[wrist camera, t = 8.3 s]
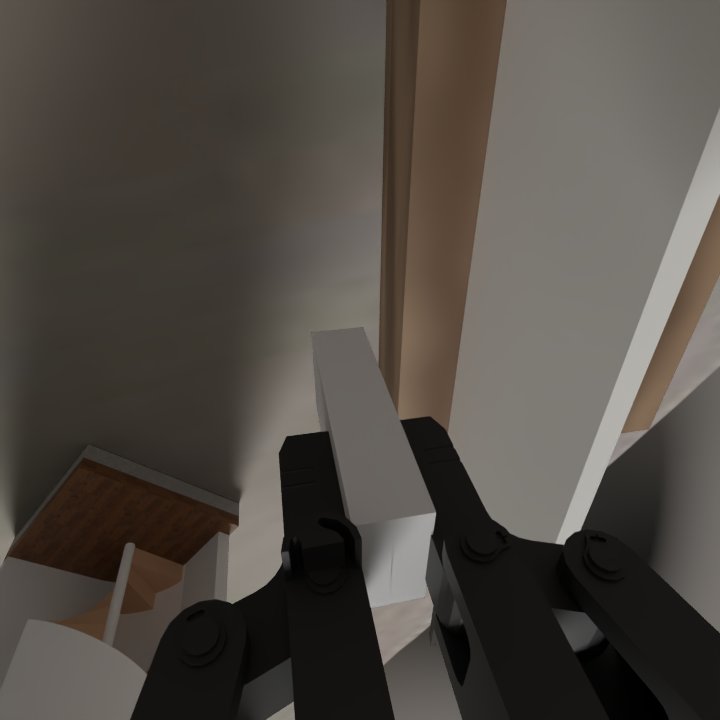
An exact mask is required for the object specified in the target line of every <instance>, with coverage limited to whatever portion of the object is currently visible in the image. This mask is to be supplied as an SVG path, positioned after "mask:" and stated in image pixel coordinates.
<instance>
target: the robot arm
mask: <svg viewBox="0 0 720 720" xmlns="http://www.w3.org/2000/svg"><path fill="white" fill-rule="evenodd" d="M311 335H312V349H313V363H314V377H315V390H316V404H317V411H318V417H319V422H320V428H321V432H316V433H309V434H301V435H294V436H287V437H286V439H285V441H284V443H283V445H282V448H281V450H280V452H279V463H280V478H281V493H282V507H283V522H284V538H283V543H282V550H281V555H282V561H283V562H282V565H281V567H280V569H279V570H278V572H277V573H276V575H275V576H274V577H273V578H272V579H271V580H270V581H269V582H268V584H267V585H265V586H264V587H262V588H261V589H259V590H258V591H256V592H255V593H253V594H251V595H249V596H247V597H245V598H243V599H241V600H239V601H237V602H235V603H234V604H231V603H229V602H225V601H221V600H218V599H212V600H206V601H199V602H197V603H195V604H193V605H192V606H190V607H188V608H186V609H184V610H183V611H182V612H181V613H180V614H178V615H177V616H176V617H175V618H174V619H173V620H172V621H171V622H170V623H169V625H168V627H167V629H166V630H165V632H164V634H163V636H162V637H161V639H160V642H159V645H158V647H157V650H156V652H155V655H154V658H153V660H152V663H151V666H150V668H149V671H148V674H147V676H146V679H145V681H144V684H143V687H142V689H141V692H140V695H139V697H138V700H137V703H136V705H135V708H134V710H133V713H132V716H131V718H130V720H266V719H267V718H269V717H270V716H272V715H273V714H275V713H276V712H278V711H280V710H281V709H283V708H284V707H286V706H287V705H289V704H290V703H292V702H293V701H294V710H295V720H395V719H394V714H393V709H392V705H391V700H390V695H389V691H388V686H387V681H386V677H385V672H384V667H383V663H382V658H381V653H380V649H379V644H378V640H377V635H376V630H375V626H374V621H373V616H372V612H371V608H373V607H378V606H383V605H388V604H393V603H398V602H403V601H409V600H414V599H419V598H424V597H425V592H426V584H427V587H428V590H429V593H430V596H431V599H432V602H433V605H434V607H433V613H432V620H431V626H430V632H429V636H430V645H431V646H433V645H436V641H437V639H438V642H439V646H440V649H441V652H442V655H443V659H444V662H445V665H446V668H447V671H448V675H449V678H450V681H451V684H452V688H453V691H454V694H455V697H456V700H457V703H458V707H459V710H460V713H461V717H462V719H463V720H720V633H719V632H718V631H717V630H716V629H715V628H714V627H713V626H711V624H709V623H708V622H707V621H706V620H705V619H704V618H703V617H702V616H701V615H700V614H699V613H698V612H697V611H696V610H695V609H694V608H693V607H692V606H691V605H689V604H688V603H687V602H686V601H685V600H684V599H683V598H682V597H681V596H680V595H679V594H678V593H677V592H676V591H675V590H674V589H673V588H672V587H670V585H669V584H668V583H667V582H665V581H664V580H663V579H662V578H661V577H660V576H659V575H658V574H657V573H656V572H655V571H654V570H653V569H652V568H651V567H650V566H649V565H648V564H647V563H646V562H645V561H643V560H642V559H641V558H640V557H639V556H638V555H637V554H636V553H635V552H634V551H633V550H632V549H631V548H630V547H628V546H627V545H626V544H624V543H623V542H622V541H620V540H619V539H618V538H616V537H614V536H611V535H609V534H607V533H604V532H602V531H595V530H582V531H578V532H574V533H573V534H572V535H571V536H570V537H568V538H567V539H566V541H565V544H564V545H562V544H555V543H547V542H540V541H532V540H528V539H523V538H519V537H517V536H515V535H513V534H510V533H509V532H508V530H507V529H506V528H505V527H503V526H502V525H500V524H499V523H497V522H496V521H494V520H492V518H491V517H490V515H489V514H488V512H487V511H486V509H485V507H484V505H483V503H482V501H481V499H480V497H479V495H478V493H477V491H476V489H475V487H474V485H473V483H472V481H471V479H470V477H469V475H468V473H467V471H466V469H465V467H464V465H463V463H462V462H461V461H460V457H459V455H458V453H457V451H456V449H455V448H454V447H453V443H452V441H451V439H450V437H449V435H448V433H447V431H446V429H445V428H444V427H442V426H441V425H440V424H439V423H438V422H437V421H435V420H434V419H433V418H432V417H431V416H427V417H419V418H412V419H404V420H400V419H399V417H398V414H397V412H396V409H395V407H394V404H393V402H392V399H391V397H390V394H389V391H388V389H387V386H386V384H385V381H384V379H383V376H382V374H381V371H380V369H379V366H378V364H377V361H376V359H375V356H374V353H373V351H372V348H371V346H370V343H369V341H368V338H367V336H366V333H365V331H364V328H363V327H360V328H350V329H340V330H330V331H320V332H311Z"/></svg>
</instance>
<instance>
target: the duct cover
mask: <svg viewBox="0 0 720 720" xmlns="http://www.w3.org/2000/svg"><path fill="white" fill-rule="evenodd" d="M719 195H720V0H507V3H506V11H505V18H504V25H503V33H502V40H501V47H500V55H499V62H498V69H497V77H496V84H495V91H494V99H493V106H492V113H491V121H490V128H489V135H488V143H487V150H486V157H485V165H484V172H483V179H482V187H481V194H480V201H479V209H478V216H477V223H476V231H475V238H474V245H473V253H472V260H471V267H470V274H469V282H468V289H467V296H466V304H465V311H464V318H463V326H462V333H461V340H460V348H459V355H458V362H457V370H456V377H455V384H454V392H453V399H452V406H451V414H450V421H449V428H448V435H449V437H450V439H451V441H452V443H453V447H454V448H455V449H456V451H457V453H458V455H459V457H460V461H461V462H462V463H463V465H464V467H465V469H466V471H467V473H468V475H469V477H470V479H471V481H472V483H473V485H474V487H475V489H476V491H477V493H478V495H479V497H480V499H481V501H482V503H483V505H484V507H485V509H486V511H487V512H488V514H489V515H490V517H491V518H492V520H494V521H496V522H497V523H499V524H500V525H502V526H503V527H505V528H506V529H507V530H508V532H509V533H510V534H513V535H515V536H517V537H519V538H523V539H528V540H532V541H540V542H547V543H555V544H562V545H564V544H565V541H566V539H567V538H568V537H570V536H571V535H572V534H573V533H574V532H578V531H580V530H581V527H582V525H583V523H584V520H585V518H586V515H587V513H588V510H589V508H590V506H591V503H592V501H593V498H594V496H595V494H596V491H597V489H598V486H599V484H600V482H601V479H602V477H603V474H604V472H605V469H606V467H607V465H608V462H609V460H610V457H611V455H612V453H613V450H614V448H615V445H616V443H617V441H618V438H619V436H620V433H621V431H622V429H623V426H624V424H625V421H626V419H627V416H628V414H629V412H630V409H631V407H632V404H633V402H634V400H635V397H636V395H637V392H638V390H639V388H640V385H641V383H642V380H643V378H644V375H645V373H646V371H647V368H648V366H649V363H650V361H651V359H652V356H653V354H654V351H655V349H656V347H657V344H658V342H659V339H660V337H661V334H662V332H663V330H664V327H665V325H666V322H667V320H668V318H669V315H670V313H671V310H672V308H673V306H674V303H675V301H676V298H677V296H678V293H679V291H680V289H681V286H682V284H683V281H684V279H685V277H686V274H687V272H688V269H689V267H690V265H691V262H692V260H693V257H694V255H695V253H696V250H697V248H698V245H699V243H700V240H701V238H702V236H703V233H704V231H705V228H706V226H707V224H708V221H709V219H710V216H711V214H712V212H713V209H714V207H715V204H716V202H717V199H718V197H719Z"/></svg>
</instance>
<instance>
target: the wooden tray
mask: <svg viewBox="0 0 720 720" xmlns="http://www.w3.org/2000/svg"><path fill="white" fill-rule="evenodd" d="M506 3H507V0H387V16H386V61H385V105H384V150H383V194H382V239H381V283H380V327H379V369H380V371H381V374H382V376H383V379H384V381H385V384H386V386H387V389H388V391H389V394H390V397H391V399H392V402H393V404H394V407H395V409H396V412H397V414H398V417H399V419H400V420H404V419H412V418H419V417H427V416H431V417H432V418H433V419H434V420H435V421H437V422H438V423H439V424H440V425H441V426H442V427H444V428H445V429H446V431H447V433H448V428H449V421H450V414H451V406H452V399H453V392H454V384H455V377H456V370H457V362H458V355H459V348H460V340H461V333H462V326H463V318H464V311H465V304H466V296H467V289H468V282H469V274H470V267H471V260H472V253H473V245H474V238H475V231H476V223H477V216H478V209H479V201H480V194H481V187H482V179H483V172H484V165H485V157H486V150H487V143H488V135H489V128H490V121H491V113H492V106H493V99H494V91H495V84H496V77H497V69H498V62H499V55H500V47H501V40H502V33H503V25H504V18H505V11H506ZM719 275H720V195H719V197H718V199H717V202H716V204H715V207H714V209H713V212H712V214H711V216H710V219H709V221H708V224H707V226H706V228H705V231H704V233H703V236H702V238H701V240H700V243H699V245H698V248H697V250H696V253H695V255H694V257H693V260H692V262H691V265H690V267H689V269H688V272H687V274H686V277H685V279H684V281H683V284H682V286H681V289H680V291H679V293H678V296H677V298H676V301H675V303H674V306H673V308H672V310H671V313H670V315H669V318H668V320H667V322H666V325H665V327H664V330H663V332H662V334H661V337H660V339H659V342H658V344H657V347H656V349H655V351H654V354H653V356H652V359H651V361H650V363H649V366H648V368H647V371H646V373H645V375H644V378H643V380H642V383H641V385H640V388H639V390H638V392H637V395H636V397H635V400H634V402H633V404H632V407H631V409H630V412H629V414H628V416H627V419H626V421H625V424H624V426H623V429H622V431H621V433H626V432H633V431H640V430H646V429H649V428H650V426H651V424H652V421H653V419H654V417H655V415H656V413H657V411H658V408H659V406H660V404H661V402H662V400H663V397H664V395H665V393H666V391H667V389H668V387H669V384H670V382H671V380H672V378H673V376H674V373H675V371H676V369H677V367H678V365H679V363H680V360H681V358H682V356H683V354H684V352H685V349H686V347H687V345H688V343H689V341H690V338H691V336H692V334H693V332H694V330H695V328H696V325H697V323H698V321H699V319H700V317H701V314H702V312H703V310H704V308H705V306H706V304H707V301H708V299H709V297H710V295H711V293H712V290H713V288H714V286H715V284H716V282H717V279H718V277H719Z"/></svg>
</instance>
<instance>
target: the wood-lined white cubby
mask: <svg viewBox="0 0 720 720" xmlns="http://www.w3.org/2000/svg"><path fill="white" fill-rule="evenodd" d="M238 526H239V503H236V502H234V501H231V500H229V499H226V498H224V497H221V496H219V495H216V494H213V493H211V492H208V491H206V490H203V489H201V488H198V487H196V486H193V485H191V484H188V483H186V482H183V481H181V480H178V479H176V478H173V477H170V476H168V475H165V474H163V473H160V472H158V471H155V470H153V469H150V468H148V467H145V466H143V465H140V464H138V463H135V462H133V461H130V460H127V459H125V458H122V457H120V456H117V455H115V454H112V453H110V452H107V451H105V450H102V449H100V448H97V447H95V446H92V445H90V444H89V445H88V446H87V447H86V448H85V450H84V451H83V452H82V453H81V455H80V456H79V457H78V458H77V460H76V461H75V462H74V464H73V465H72V466H71V467H70V469H69V470H68V471H67V472H66V474H65V475H64V476H63V477H62V479H61V480H60V481H59V482H58V484H57V485H56V486H55V488H54V489H53V490H52V491H51V493H50V494H49V495H48V496H47V498H46V499H45V500H44V501H43V503H42V504H41V505H40V506H39V508H38V509H37V510H36V512H35V513H34V514H33V515H32V517H31V518H30V519H29V520H28V522H27V523H26V524H25V525H24V527H23V528H22V529H21V530H20V532H19V533H18V534H17V536H16V537H15V538H14V540H13V543H12V545H11V547H10V549H9V551H8V553H7V555H6V557H5V559H4V561H3V564H2V566H1V568H0V720H130V718H131V716H132V713H133V710H134V708H135V705H136V703H137V700H138V697H139V695H140V692H141V689H142V687H143V684H144V681H145V679H146V676H147V674H148V671H149V668H150V666H151V663H152V660H153V658H154V655H155V652H156V650H157V647H158V645H159V642H160V639H161V637H162V636H163V634H164V632H165V630H166V629H167V627H168V625H169V623H170V622H171V621H172V620H173V619H174V618H175V617H176V616H177V615H178V614H180V613H181V612H182V611H183V610H184V609H186V608H188V607H190V606H192V605H193V604H195V603H197V602H199V601H206V600H212V599H218V600H221V601H225V602H226V597H227V574H228V551H229V535H230V534H231V533H232V532H233V531H234V530H235V529H236V528H237V527H238Z"/></svg>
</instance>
